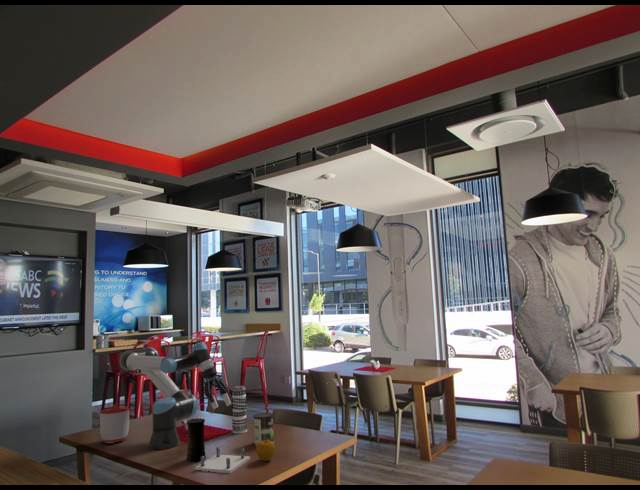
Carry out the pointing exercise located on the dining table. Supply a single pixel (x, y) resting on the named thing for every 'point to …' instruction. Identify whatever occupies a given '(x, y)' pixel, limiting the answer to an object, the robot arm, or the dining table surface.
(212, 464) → the locating plate
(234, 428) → the decorative candle
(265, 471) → the dining table surface
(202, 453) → the container
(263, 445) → the apple
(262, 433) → the coffee can
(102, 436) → the citrus juicer
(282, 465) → the dining table surface
